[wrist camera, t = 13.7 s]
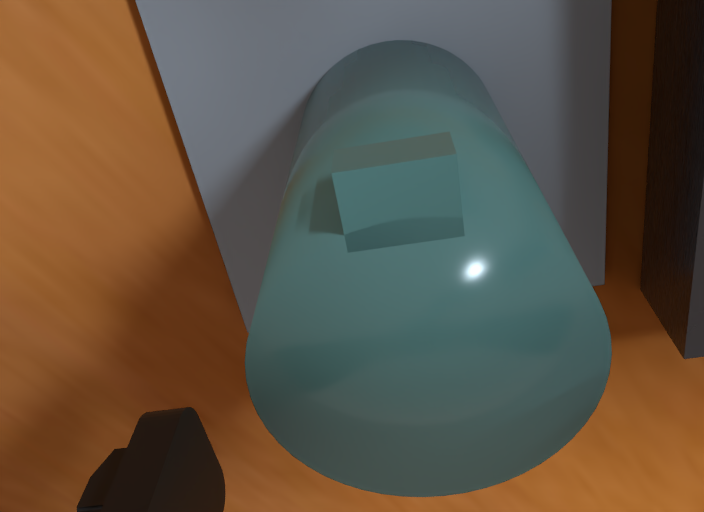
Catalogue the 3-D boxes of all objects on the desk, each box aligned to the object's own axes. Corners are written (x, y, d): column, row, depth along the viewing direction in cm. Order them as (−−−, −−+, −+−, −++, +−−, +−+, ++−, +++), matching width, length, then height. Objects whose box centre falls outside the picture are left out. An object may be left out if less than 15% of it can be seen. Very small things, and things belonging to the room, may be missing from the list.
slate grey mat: (609, -142, 15) (615, -142, 15) (600, 277, 21) (604, 284, 21) (126, -43, 17) (121, -41, 16) (249, 325, 23) (247, 332, 22)
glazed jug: (273, 29, 17) (181, 196, 9) (488, -10, 16) (620, 129, 8) (334, 295, 21) (314, 582, 13) (506, 272, 21) (603, 557, 12)
